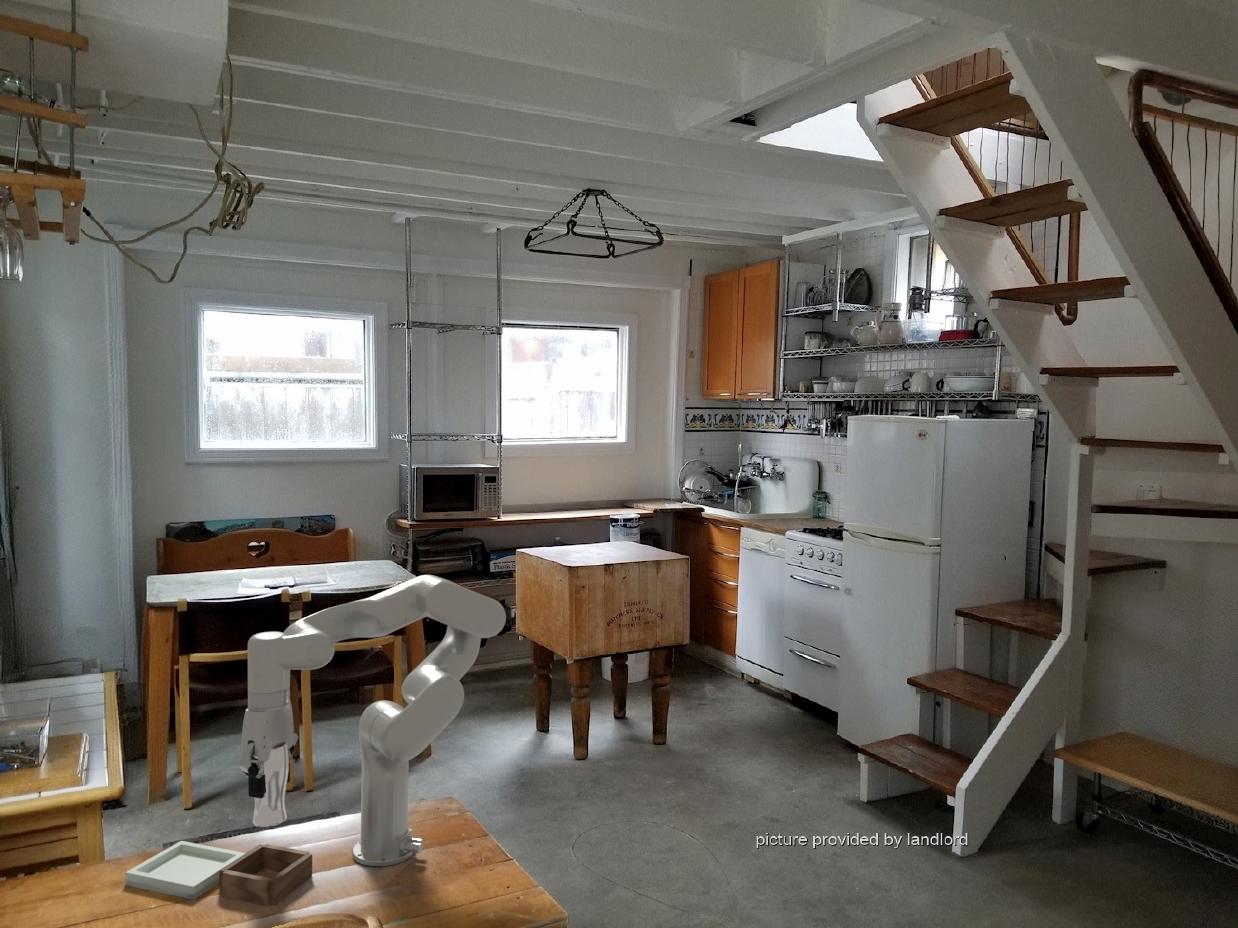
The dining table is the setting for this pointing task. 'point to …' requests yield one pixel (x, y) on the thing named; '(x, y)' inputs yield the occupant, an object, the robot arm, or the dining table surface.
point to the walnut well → (262, 890)
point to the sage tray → (182, 870)
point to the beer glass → (273, 789)
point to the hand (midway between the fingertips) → (269, 788)
